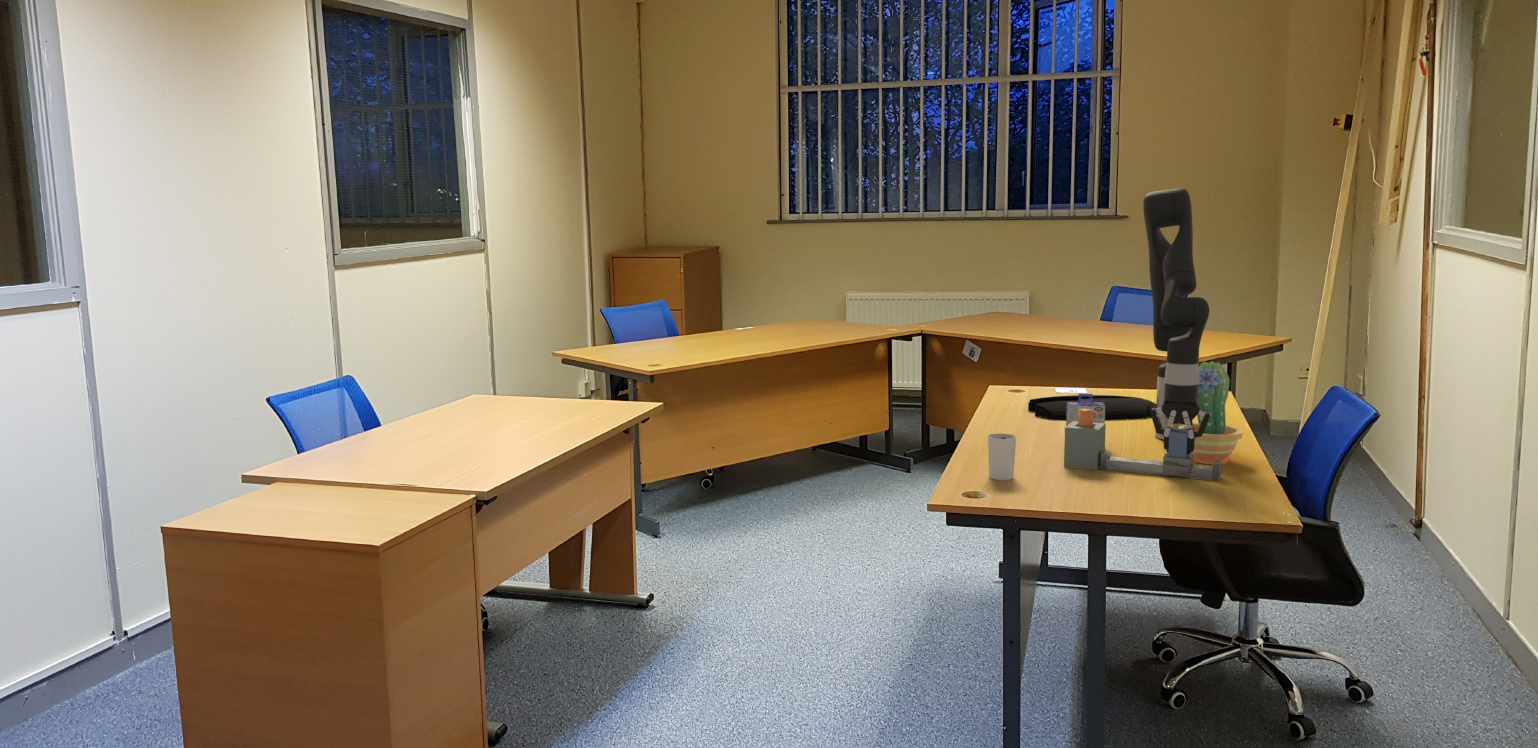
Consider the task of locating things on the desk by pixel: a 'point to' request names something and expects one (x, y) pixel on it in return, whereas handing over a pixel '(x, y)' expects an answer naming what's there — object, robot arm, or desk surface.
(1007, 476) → the cream cup
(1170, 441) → the carriage
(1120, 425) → the desk surface
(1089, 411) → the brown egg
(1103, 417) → the ink cartridge box
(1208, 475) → the rail
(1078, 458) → the grey-green socket block
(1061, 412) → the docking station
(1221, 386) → the potted cactus
